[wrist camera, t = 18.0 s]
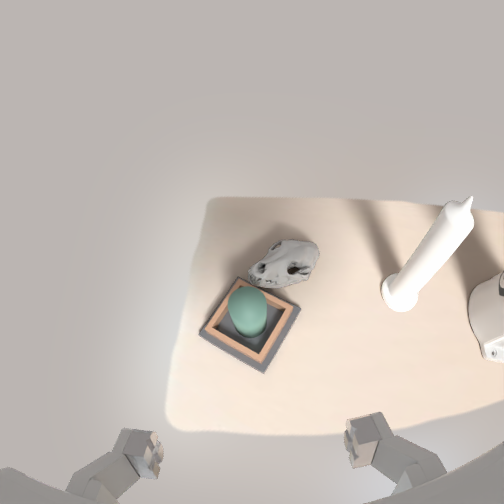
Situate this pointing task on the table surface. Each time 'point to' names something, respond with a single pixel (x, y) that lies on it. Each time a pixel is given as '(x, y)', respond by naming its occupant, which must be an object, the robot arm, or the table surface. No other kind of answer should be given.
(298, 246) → the skull
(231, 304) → the green cylinder
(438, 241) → the candle
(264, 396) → the table surface
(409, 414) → the table surface
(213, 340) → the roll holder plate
